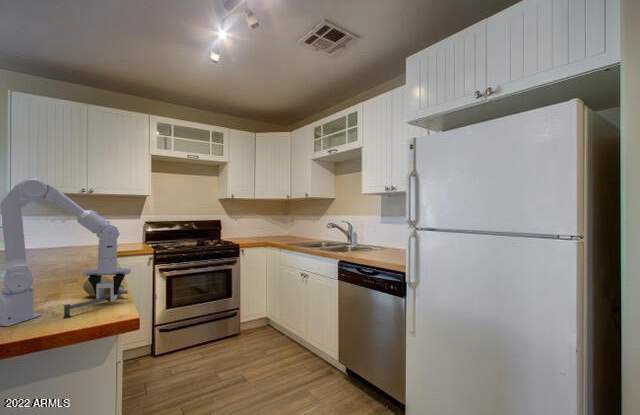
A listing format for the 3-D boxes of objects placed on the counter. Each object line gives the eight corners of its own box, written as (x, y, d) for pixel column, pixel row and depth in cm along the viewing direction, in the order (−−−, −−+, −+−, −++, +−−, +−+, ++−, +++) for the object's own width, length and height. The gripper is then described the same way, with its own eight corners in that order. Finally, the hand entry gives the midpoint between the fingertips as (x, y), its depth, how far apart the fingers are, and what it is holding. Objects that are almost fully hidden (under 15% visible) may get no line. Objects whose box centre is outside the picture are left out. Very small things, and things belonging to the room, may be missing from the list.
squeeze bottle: (96, 294, 124) (132, 302, 120) (77, 295, 117) (115, 304, 113) (101, 274, 126) (137, 281, 122) (83, 274, 118) (120, 281, 114)
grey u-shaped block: (112, 301, 110) (113, 283, 110) (96, 302, 108) (96, 284, 108) (117, 298, 114) (117, 280, 114) (100, 299, 112) (101, 281, 112)
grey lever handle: (73, 319, 95) (74, 306, 95) (57, 317, 96) (57, 305, 96) (124, 300, 115) (124, 290, 115) (110, 299, 116) (110, 289, 116)
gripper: (133, 255, 117) (132, 290, 117) (89, 256, 113) (88, 293, 113) (127, 258, 110) (126, 295, 110) (80, 259, 106) (79, 298, 106)
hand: (107, 294), depth 111 cm, fingers closed on grey u-shaped block, 5 cm apart
